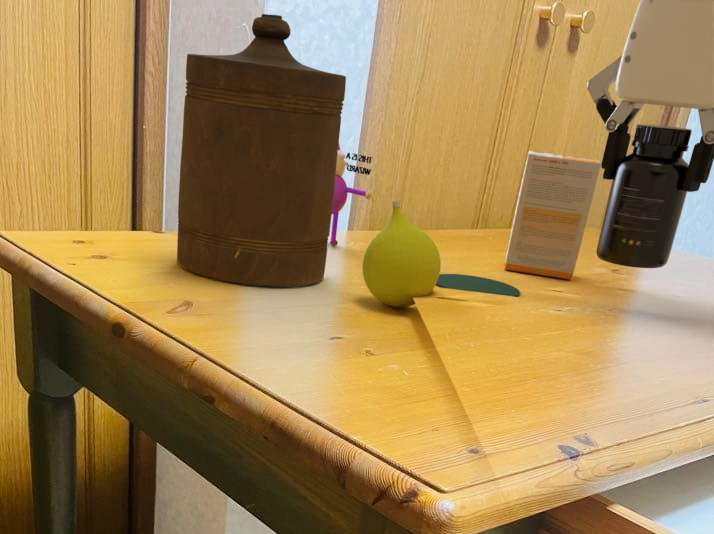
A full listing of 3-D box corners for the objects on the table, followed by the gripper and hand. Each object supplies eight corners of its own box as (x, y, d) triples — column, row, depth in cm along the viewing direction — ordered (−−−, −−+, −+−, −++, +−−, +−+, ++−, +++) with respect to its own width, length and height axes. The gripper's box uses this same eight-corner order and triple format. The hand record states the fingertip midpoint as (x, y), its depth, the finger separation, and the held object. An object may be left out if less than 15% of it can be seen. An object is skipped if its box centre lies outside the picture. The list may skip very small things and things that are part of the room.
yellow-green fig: (363, 291, 82) (379, 182, 77) (434, 303, 81) (455, 193, 77) (352, 307, 76) (369, 189, 71) (429, 320, 75) (452, 202, 70)
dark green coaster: (509, 282, 95) (509, 280, 95) (528, 302, 87) (529, 300, 87) (425, 271, 95) (425, 269, 95) (437, 291, 86) (437, 289, 86)
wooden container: (273, 252, 94) (295, 22, 83) (352, 286, 84) (388, 29, 73) (151, 253, 86) (157, -1, 75) (221, 290, 76) (241, 3, 65)
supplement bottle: (600, 251, 87) (631, 121, 81) (669, 262, 84) (707, 130, 78) (588, 260, 81) (622, 122, 75) (662, 273, 79) (702, 131, 73)
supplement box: (569, 274, 104) (600, 159, 98) (571, 281, 100) (603, 162, 94) (503, 263, 105) (528, 148, 99) (502, 269, 101) (528, 151, 95)
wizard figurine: (369, 253, 100) (386, 143, 94) (353, 255, 98) (369, 142, 92) (298, 234, 106) (310, 128, 100) (282, 235, 104) (292, 127, 98)
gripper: (831, -35, 69) (756, 197, 78) (624, -39, 78) (577, 170, 86) (815, -50, 64) (736, 201, 72) (594, -52, 72) (547, 172, 81)
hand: (650, 183), depth 79 cm, fingers closed on supplement bottle, 6 cm apart
